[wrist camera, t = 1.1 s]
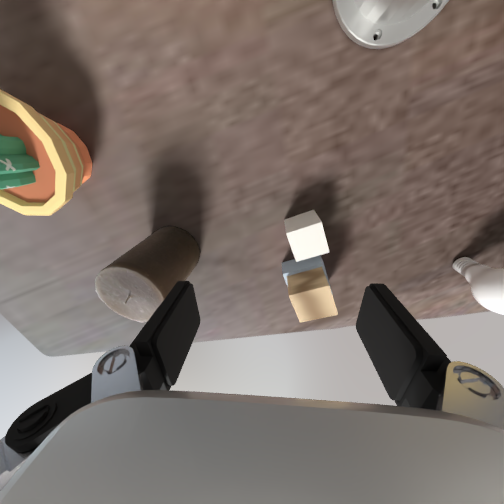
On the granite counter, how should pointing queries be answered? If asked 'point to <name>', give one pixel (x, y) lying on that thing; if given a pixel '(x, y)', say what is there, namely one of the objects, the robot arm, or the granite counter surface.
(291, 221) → the white block
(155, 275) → the pillar candle
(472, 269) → the lightbulb
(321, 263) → the tower base
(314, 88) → the granite counter surface
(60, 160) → the potted cactus
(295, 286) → the tower mid
